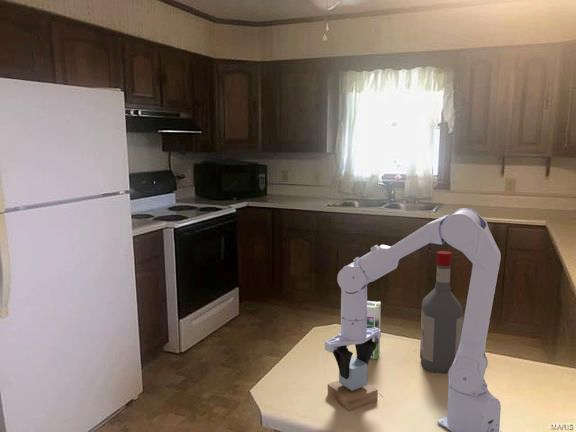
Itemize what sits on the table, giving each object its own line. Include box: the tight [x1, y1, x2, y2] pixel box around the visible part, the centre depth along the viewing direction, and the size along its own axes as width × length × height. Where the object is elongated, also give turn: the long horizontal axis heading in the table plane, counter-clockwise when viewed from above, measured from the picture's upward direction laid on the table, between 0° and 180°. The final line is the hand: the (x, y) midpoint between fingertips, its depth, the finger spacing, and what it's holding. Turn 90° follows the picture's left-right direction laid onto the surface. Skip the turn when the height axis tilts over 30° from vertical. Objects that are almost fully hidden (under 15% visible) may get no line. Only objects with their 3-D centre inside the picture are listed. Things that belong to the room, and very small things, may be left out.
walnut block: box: [327, 379, 379, 412], centre depth 105 cm, size 8×8×3 cm
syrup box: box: [367, 300, 382, 360], centre depth 126 cm, size 6×6×14 cm
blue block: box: [338, 356, 368, 391], centre depth 104 cm, size 4×4×5 cm
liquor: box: [419, 250, 464, 374], centre depth 118 cm, size 9×9×30 cm
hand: (353, 374), depth 104 cm, fingers closed on blue block, 4 cm apart
